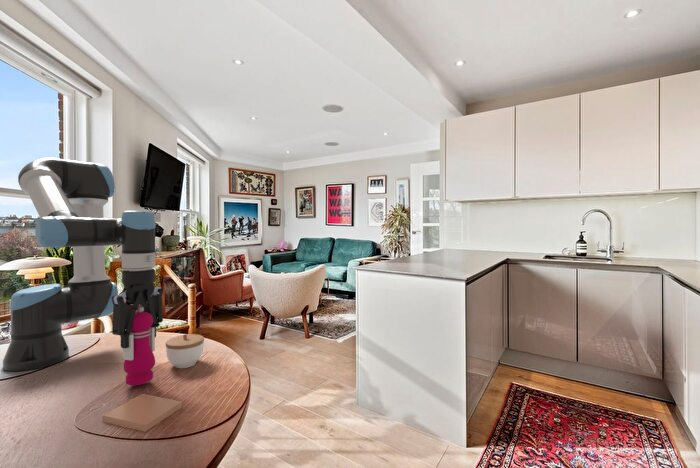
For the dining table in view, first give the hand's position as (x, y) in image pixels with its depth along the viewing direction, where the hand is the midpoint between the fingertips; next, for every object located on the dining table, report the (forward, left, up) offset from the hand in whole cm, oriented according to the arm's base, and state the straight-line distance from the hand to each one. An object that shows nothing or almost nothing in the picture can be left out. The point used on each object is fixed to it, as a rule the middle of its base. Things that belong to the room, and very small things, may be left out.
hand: (139, 354), depth 90 cm
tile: (+7, -10, -8) cm, 15 cm away
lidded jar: (+1, +15, -9) cm, 17 cm away
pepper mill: (0, 0, -7) cm, 7 cm away
